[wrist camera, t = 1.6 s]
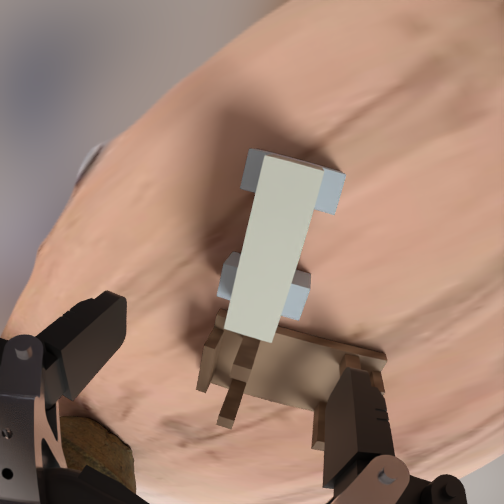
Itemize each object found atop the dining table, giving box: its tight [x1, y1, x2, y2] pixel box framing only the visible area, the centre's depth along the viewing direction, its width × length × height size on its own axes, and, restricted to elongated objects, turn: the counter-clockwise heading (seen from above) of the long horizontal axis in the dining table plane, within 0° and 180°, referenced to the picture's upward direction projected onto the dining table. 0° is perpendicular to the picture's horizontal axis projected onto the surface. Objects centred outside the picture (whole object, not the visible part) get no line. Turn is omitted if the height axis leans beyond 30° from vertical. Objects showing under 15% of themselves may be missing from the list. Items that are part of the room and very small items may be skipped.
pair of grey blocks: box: [217, 149, 346, 321], centre depth 24 cm, size 7×12×3 cm, turn 167°
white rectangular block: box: [224, 154, 324, 343], centre depth 21 cm, size 4×12×4 cm, turn 167°
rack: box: [196, 309, 387, 451], centre depth 27 cm, size 17×9×7 cm, turn 77°
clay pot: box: [59, 416, 136, 494], centre depth 33 cm, size 25×25×25 cm
